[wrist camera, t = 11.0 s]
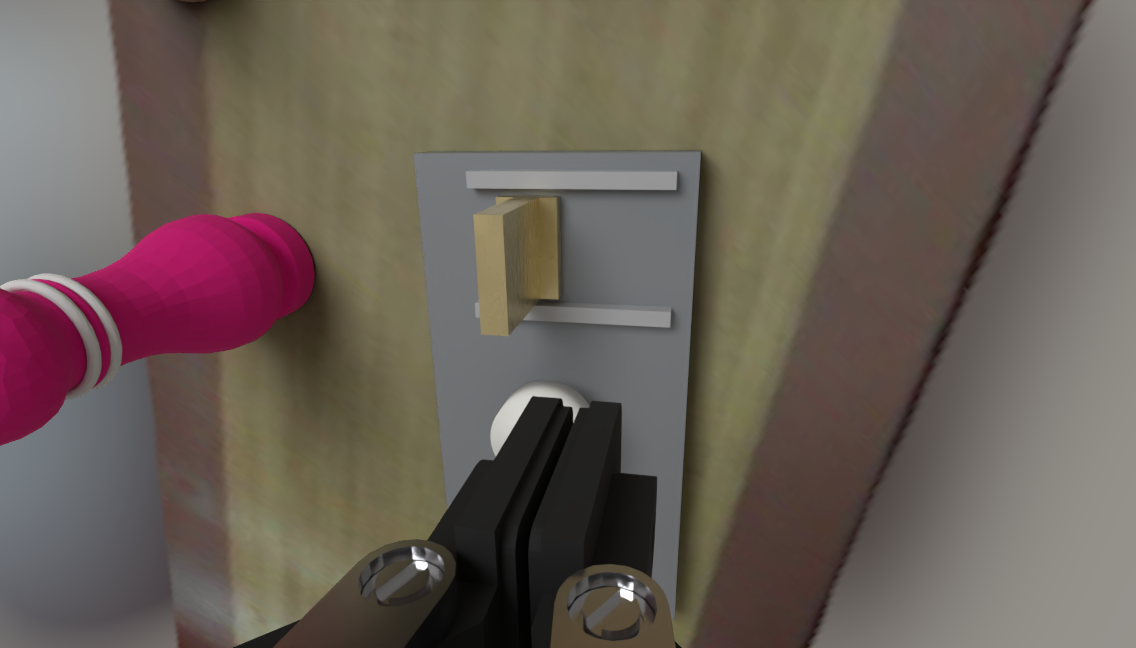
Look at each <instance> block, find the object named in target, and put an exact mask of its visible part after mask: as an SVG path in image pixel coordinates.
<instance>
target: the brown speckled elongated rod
mask: <svg viewBox="0 0 1136 648" xmlns="http://www.w3.org/2000/svg"><path fill="white" fill-rule="evenodd" d="M179 1H188V2H198V1H205V0H179Z"/></svg>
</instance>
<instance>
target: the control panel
mask: <svg viewBox="0 0 1136 648" xmlns="http://www.w3.org/2000/svg"><path fill="white" fill-rule="evenodd" d="M700 158H701V150H612V151H429V152H421V153H414V164H415V174H416V185H417V195H418V206H419V216H420V227H421V238H422V248H423V259H424V269H425V280H426V290H427V301H428V311H429V322H430V332H431V343H432V354H433V364H434V375H435V385H436V396H437V406H438V417H439V427H440V438H441V448H442V459H443V470H444V480H445V491H446V501H447V509H448V508H449V506H450V505H451V503H452V502H453V500H454V498H455V497H456V495H457V494H458V492H459V491H460V489H461V488H462V486H463V484H464V483H465V481H466V480H467V478H468V477H469V475H470V474H471V472H472V470H473V469H474V467H475V466H476V464H477V463H478V462H479V461H480V460H483V459H486V460H494V459H495V457H496V456H495V454H494V452H493V449H492V446H491V439H490V433H491V427H492V424H493V421H494V419H495V417H496V415H497V414H498V412H499V411H500V409H501V408H502V406H503V405H504V403H505V402H506V400H507V399H508V398H509V396H510V395H511V394H512V393H513V391H514V390H516V389H517V388H518V387H520V386H522V385H523V384H526V383H528V382H531V381H536V380H552V381H556V382H560V383H563V384H565V385H567V386H569V387H571V388H573V389H574V390H576V391H577V392H578V393H579V394H580V395H582V397H583V398H584V399H585V400H586V401H587V403H588V404H589V406H590V403H591V401H603V402H616V403H621V405H622V436H621V473H628V474H639V475H649V476H657V502H656V524H655V542H654V556H653V568H652V579H653V580H655V581H656V582H657V584H658V585H659V586H660V587H661V588H662V590H663V591H664V592H665V595H666V598H667V600H668V603H669V607H670V613H671V619H673V620H674V618H675V601H676V583H677V565H678V548H679V530H680V512H681V494H682V477H683V459H684V441H685V424H686V406H687V388H688V371H689V353H690V335H691V318H692V300H693V282H694V264H695V247H696V229H697V211H698V194H699V176H700ZM500 195H533V196H560V221H561V277H562V295H561V297H560V298H559V299H540V300H539V302H538V303H537V304H536V305H535V306H534V307H533V308H532V310H531V311H530V312H529V313H528V314H527V315H526V317H525V318H524V319H523V320H522V321H521V322H520V324H519V325H518V326H517V327H516V328H515V329H514V330H513V332H512V333H511V334H510V335H509V336H497V335H481V326H480V310H479V295H478V280H477V264H476V249H475V234H474V219H473V214H476V213H478V212H481V211H483V210H485V209H488V208H490V207H492V206H495V205H496V197H497V196H500Z"/></svg>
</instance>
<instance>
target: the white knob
mask: <svg viewBox="0 0 1136 648" xmlns="http://www.w3.org/2000/svg"><path fill="white" fill-rule="evenodd" d="M532 396H537V397H550V398H562V400H563V406H568V407H572V408H573V423H574V420H575V418H576V416H577V413H578V411H579V408H580V407H581V408H589V404H588V403H587V401H586V400H585V399H584V398H583V397H582V395H580V394H579V393H578V392H577V391H576V390H574V389H573V388H571V387H569V386H567V385H565V384H563V383H560V382H556V381H552V380H536V381H531V382H528V383H526V384H523V385H522V386H520V387H518V388H517V389H516V390H514V391H513V393H512V394H511V395H510V396H509V398H508V399H507V400H506V402H505V403H504V405H503V406H502V408H501V409H500V411H499V412H498V414H497V415H496V417H495V419H494V421H493V424H492V427H491V433H490V439H491V446H492V449H493V452H494V454H495V456H497V454H498V452H499V451H500V449H501V447H502V446H503V444H504V442H505V441H506V439H507V437H508V436H509V434H510V432H511V431H512V429H513V427H514V426H515V424H516V422H517V421H518V419H519V417H520V416H521V414H522V412H523V411H524V409H525V407H526V406H527V404H528V402H529V401H530V399H531V398H532Z"/></svg>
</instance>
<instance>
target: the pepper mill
mask: <svg viewBox="0 0 1136 648" xmlns="http://www.w3.org/2000/svg"><path fill="white" fill-rule="evenodd" d="M314 277H315V272H314V266H313V260H312V256H311V254H310V252H309V250H308V248H307V246H306V243H305V242H304V241H303V239H302V238H301V237H300V236H299V234H298V233H297V232H296V231H295V230H294V229H293V228H292V227H290V226H289V225H288V224H287V223H286V222H284V221H282V220H280V219H278V218H276V217H274V216H271V215H268V214H262V213H250V214H245V215H240V216H236V217H231V218H225V217H221V216H217V215H207V214H202V215H192V216H189V217H186V218H182V219H179V220H176V221H173V222H170V223H166V224H164V225H163V226H161V227H160V228H158V229H156V230H155V231H153V232H151V233H150V234H148V235H147V236H146V237H144V238H143V239H142V240H141V241H140V242H139V243H138V244H137V245H136V246H135V247H134V248H133V249H132V250H131V251H130V252H128V253H127V254H126V255H125V256H124V257H122V258H121V259H120V260H118V261H117V262H115V263H113V264H111V265H109V266H108V267H106V268H104V269H101V270H98V271H95V272H93V273H90V274H88V275H84V276H82V277H77V278H68V277H65V276H62V275H56V274H39V275H35V276H32V277H30V278H28V279H24V280H22V279H21V280H14V281H10V282H7V283H5V284H3V285H2V286H0V445H3V444H6V443H9V442H12V441H15V440H18V439H21V438H23V437H25V436H27V435H28V434H30V433H32V432H34V431H36V430H38V429H39V428H41V427H42V426H43V425H45V424H46V423H47V422H48V421H49V420H50V419H51V418H52V417H53V416H54V415H56V414H57V412H58V411H59V410H60V408H61V406H62V405H63V403H64V400H67V399H74V398H77V397H81V396H82V395H84V394H86V393H87V392H89V391H90V390H93V389H97V388H100V387H102V386H104V385H106V384H108V383H109V382H110V381H111V380H112V379H113V378H114V377H115V375H116V374H117V372H118V370H119V368H120V366H122V365H124V364H126V363H128V362H132V361H135V360H138V359H141V358H144V357H148V356H151V355H157V354H163V353H213V352H220V351H226V350H230V349H235V348H237V347H240V346H242V345H245V344H247V343H250V342H252V341H255V340H256V339H258V338H260V337H261V336H262V335H263V334H265V333H266V332H267V331H268V330H269V329H270V328H271V326H272V325H273V324H274V322H275V320H277V319H280V318H282V317H284V316H286V315H288V314H290V313H292V312H294V311H296V310H298V309H299V308H300V307H302V306H303V305H304V304H305V303H306V301H307V300H308V298H309V296H310V294H311V292H312V289H313V285H314Z"/></svg>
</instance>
